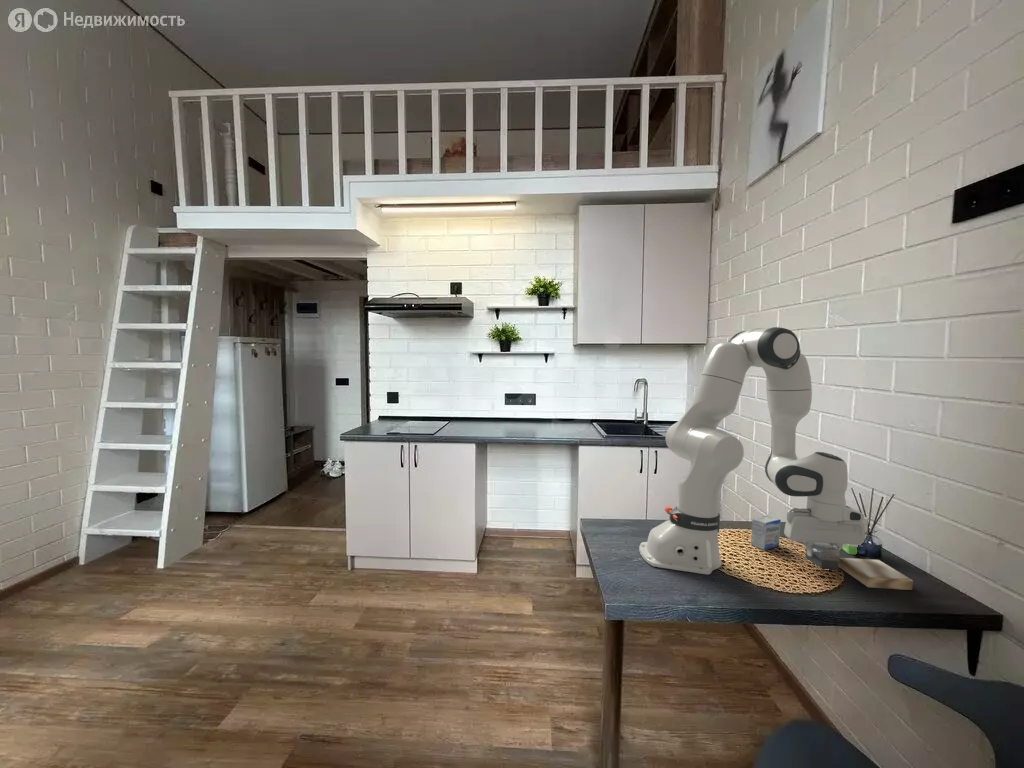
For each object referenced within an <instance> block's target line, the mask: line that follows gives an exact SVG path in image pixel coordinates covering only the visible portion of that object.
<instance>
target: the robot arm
mask: <svg viewBox="0 0 1024 768" xmlns="http://www.w3.org/2000/svg"><path fill="white" fill-rule="evenodd" d="M751 367H756V368H762V369H763V371H764V373H765V376H766V383H765V384H766V386H765V387H766V390H765V392H766V401H767V408H768V413H769V416H770V422H771V444H770V445H771V448H770V454H769V456H768V457H767V460H766V463H765V466H764V472H765V475H766V477H767V479H768V480H769V481H770V482H771V483H773V484H774V485H775V486H776V488H777V489H778V490H779V491H780V492H782V494H785V495H786V496H789V497H798V498H799V497H803V498H804V497H806V498H807V499H806V500H807V501H806V508H797V507H794V508H792V509H790V510H788V511H787V512H786V521H785V525H784V530H783V533H784V536H785V537H786V538H788V539H789V540H790V541H791V542H802V543H803V544H804V546H805V549H806V548H807V555H808V556H809V557H815V556H816V555H815V554H816V551H815V550H813V549H812V548H811V546H812V545H813V542H817V543H829V544H833V545H832V546H833V547H835V548H836V549H838V550H840V551H841V550H843V549H842V547H843V544H855V545H861V544H862V543H863V542H864V539H865V526H864V523H863V522H862V521H863V520H864V517H865V514H864V513H862V512H861V511H860V510H857V509H855V508H852V507H850V506H848V505H846V504H847V501H846V497H845V496H846V491H847V490H848V483H849V482H848V479H849V478H848V477H849V474H848V465H847V463H846V461H845V460H844V459H842V458H841V457H840V456H837V455H834V454H831V453H828V452H822V451H815V452H813V453H812V454H810V455H808V456H805V457H802V458H798V456H797V454H796V453H797V452H796V436H797V435H796V433H797V431H796V430H797V426H798V424H799V423H800V421H801V420H802V419H803V418H805V417H806V416H807V415H808V414H809V413H810V410H811V406H812V400H813V388H812V387H813V386H812V376H811V372H810V371H811V370H810V367H809V363H808V359H807V358H806V356H805V355H804V354H802V353H801V345H800V341H799V338H798V337H797V335H796V334H795V332H793V331H792V330H790V329H789V328H786V327H780V326H779V327H778V326H776V327H773V326H772V327H768V328H765V327H763V328H762V327H760V328H753V329H749V330H743V331H739V332H736V334H734V335H733V336H731V337H730V338H729V339H728V340H727V341H724V342H720V343H718V344H716V345H714V347H713V348H712V349H711V351H710V353H709V355H708V357H707V359H706V361H705V364H704V366H703V367H702V371H701V375H700V377H699V381H698V383H697V387H696V390H695V392H694V396H693V399H692V401H691V403H690V405H689V406H688V408H687V410H685V412H684V413H683V414H682V417H681V418H679V420H678V421H676V422H675V423H673V424H672V425H671V426H669V428H668V429H667V431H666V433H665V443H666V446H667V448H668V449H669V450H670V451H671V452H673V453H674V454H675V455H676V456H678V457H679V458H682V459H685V460H687V461H690V468H689V471H688V473H687V475H686V476H683V477H682V478H681V479H680V480H679V482H678V485H677V501H676V502H677V504H676V507H674V508H672V507H671V506H669V505H666V506H665V507H664V511H665V513H666V514H668V515H669V519H668V520H667V519H666V520H665V521H663V522H662V523H660V524H659V525H656V526H654V527H653V528H651V530H650V531H649V534H648V538H647V540H646V541H642V542H641V543H640V544H639V547H638V550H639V553H640V556H641V557H642V558H643V560H644V561H645V562H646V563H647V564H649V565H650V566H651V567H654V568H655V567H657V568H660V569H667V570H669V569H670V570H675V571H682V572H689V573H695V574H700V575H701V574H702V575H710V574H712V573H713V571H715V570H718V569H719V568H721V566H722V565H723V564H722V563H723V562H722V559H721V556H720V549H719V547H720V546H719V533H720V528H721V527H720V526H721V515H720V513H719V510H720V501H721V491H722V487H723V484H724V482H725V481H726V480H725V479H726V477H728V475H729V473H730V472H732V471H734V470H735V469H737V468H738V467H739V466H740V464H741V463H742V461H743V459H744V454H745V450H744V445H743V443H742V442H741V441H740V440H739V439H738V438H737V437H736V436H734V435H732V434H730V433H728V432H727V431H724V430H721V429H717V427H718V426H719V425H720V423H721V422H722V421H723V420H724V419H725V418H726V417H728V416H730V415H732V414H733V413H734V412H735V410H736V408H737V405H738V401H739V398H740V394H741V392H742V389H743V385H744V382H745V378H746V374H747V372H748V370H749V369H750V368H751ZM810 545H811V546H810Z"/></svg>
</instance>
